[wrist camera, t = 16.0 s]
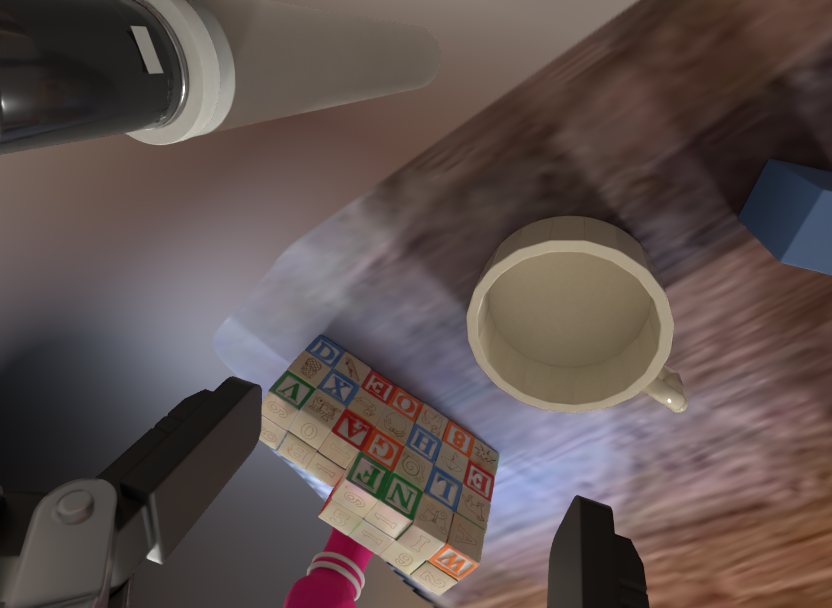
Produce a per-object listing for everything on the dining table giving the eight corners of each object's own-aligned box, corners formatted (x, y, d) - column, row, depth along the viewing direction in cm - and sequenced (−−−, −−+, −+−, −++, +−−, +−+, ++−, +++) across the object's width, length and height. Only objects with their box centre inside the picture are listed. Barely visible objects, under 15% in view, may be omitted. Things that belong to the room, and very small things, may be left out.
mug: (449, 310, 42) (433, 343, 37) (548, 178, 34) (543, 198, 30) (614, 422, 42) (619, 468, 37) (746, 314, 35) (773, 354, 30)
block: (736, 218, 32) (778, 262, 25) (768, 158, 30) (823, 188, 23) (801, 233, 31) (862, 283, 25) (838, 173, 29) (916, 209, 23)
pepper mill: (347, 443, 53) (236, 628, 36) (407, 443, 50) (319, 643, 33) (366, 492, 55) (272, 686, 38) (424, 495, 53) (351, 704, 36)
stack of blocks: (297, 372, 50) (223, 456, 40) (320, 331, 47) (246, 411, 36) (467, 486, 50) (438, 599, 40) (502, 454, 47) (480, 568, 37)
